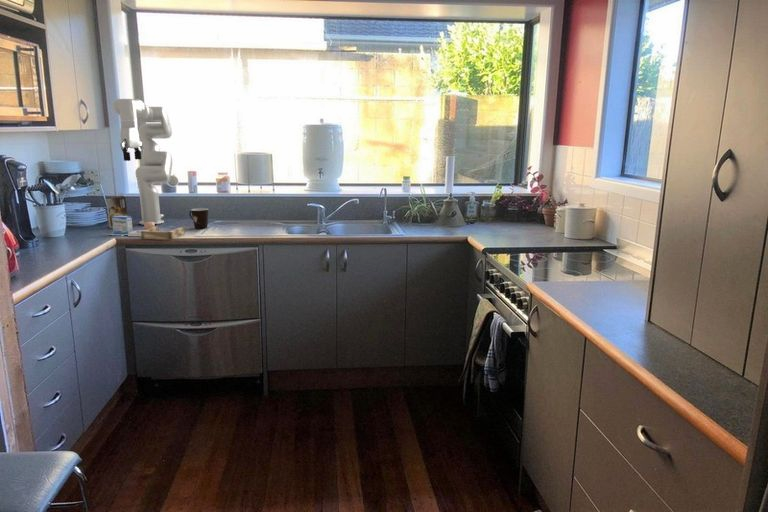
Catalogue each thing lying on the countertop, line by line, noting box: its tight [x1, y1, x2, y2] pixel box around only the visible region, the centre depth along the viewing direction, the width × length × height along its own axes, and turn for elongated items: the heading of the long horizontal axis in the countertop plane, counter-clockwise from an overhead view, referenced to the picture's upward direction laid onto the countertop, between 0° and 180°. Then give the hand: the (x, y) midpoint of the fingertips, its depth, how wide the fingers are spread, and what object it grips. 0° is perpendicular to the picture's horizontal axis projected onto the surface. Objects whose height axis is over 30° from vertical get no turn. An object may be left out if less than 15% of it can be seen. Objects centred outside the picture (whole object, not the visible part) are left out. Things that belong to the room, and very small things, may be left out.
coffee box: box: [104, 195, 129, 229], centre depth 297 cm, size 9×6×16 cm
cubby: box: [140, 226, 185, 241], centre depth 274 cm, size 14×15×4 cm
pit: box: [128, 229, 143, 237], centre depth 277 cm, size 7×7×2 cm
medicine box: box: [112, 215, 134, 234], centre depth 279 cm, size 8×4×9 cm, turn 84°
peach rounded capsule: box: [143, 222, 156, 230], centre depth 285 cm, size 5×5×5 cm
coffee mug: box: [188, 207, 209, 230], centre depth 296 cm, size 12×9×10 cm
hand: (132, 160), depth 279 cm, fingers open, 9 cm apart
